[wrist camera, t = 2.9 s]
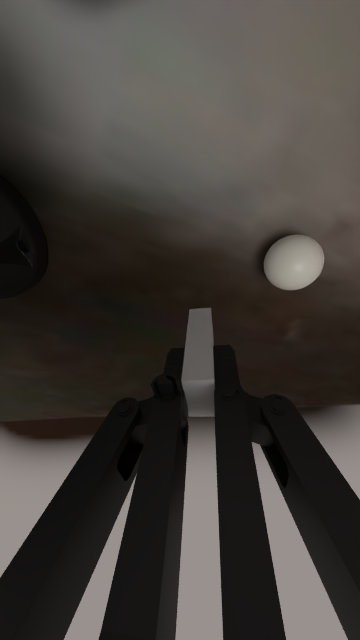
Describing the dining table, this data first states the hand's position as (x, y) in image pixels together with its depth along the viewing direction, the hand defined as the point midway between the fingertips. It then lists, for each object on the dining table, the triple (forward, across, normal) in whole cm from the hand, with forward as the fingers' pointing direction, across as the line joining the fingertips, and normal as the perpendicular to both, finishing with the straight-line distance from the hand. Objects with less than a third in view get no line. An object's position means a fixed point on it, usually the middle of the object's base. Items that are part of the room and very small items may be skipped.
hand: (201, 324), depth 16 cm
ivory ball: (+10, +9, 0) cm, 13 cm away
